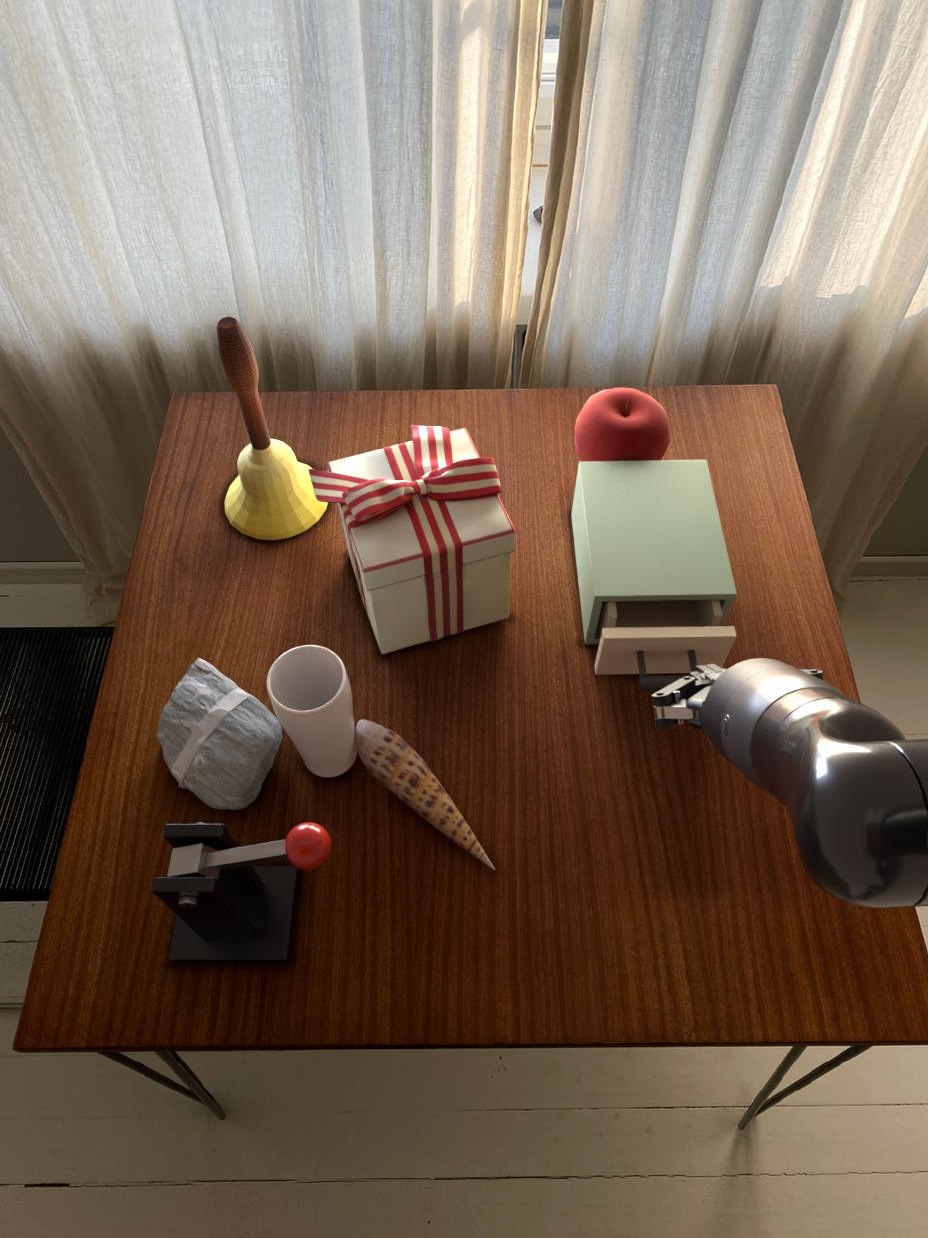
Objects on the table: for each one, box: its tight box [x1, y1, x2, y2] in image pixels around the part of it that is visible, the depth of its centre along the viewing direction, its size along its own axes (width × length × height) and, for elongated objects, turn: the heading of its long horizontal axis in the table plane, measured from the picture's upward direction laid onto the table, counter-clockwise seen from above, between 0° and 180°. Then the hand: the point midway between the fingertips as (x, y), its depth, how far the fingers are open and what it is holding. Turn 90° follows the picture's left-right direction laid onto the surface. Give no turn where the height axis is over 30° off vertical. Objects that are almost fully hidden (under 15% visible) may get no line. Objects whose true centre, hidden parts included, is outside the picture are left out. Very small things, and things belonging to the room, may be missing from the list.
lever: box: [166, 821, 332, 880], centre depth 63 cm, size 13×3×3 cm, turn 90°
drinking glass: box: [266, 644, 358, 778], centre depth 79 cm, size 7×7×15 cm
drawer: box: [594, 600, 737, 692], centre depth 89 cm, size 21×13×7 cm, turn 1°
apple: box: [574, 387, 671, 462], centre depth 100 cm, size 11×11×12 cm
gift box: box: [308, 424, 517, 655], centre depth 89 cm, size 17×18×17 cm
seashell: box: [355, 718, 496, 871], centre depth 80 cm, size 4×18×5 cm, turn 43°
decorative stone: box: [156, 657, 284, 811], centre depth 83 cm, size 13×10×6 cm
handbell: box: [215, 316, 329, 541], centre depth 93 cm, size 12×12×25 cm
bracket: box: [151, 822, 300, 964], centre depth 70 cm, size 10×8×16 cm
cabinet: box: [570, 459, 738, 645], centre depth 93 cm, size 18×14×9 cm
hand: (705, 677), depth 71 cm, fingers closed
